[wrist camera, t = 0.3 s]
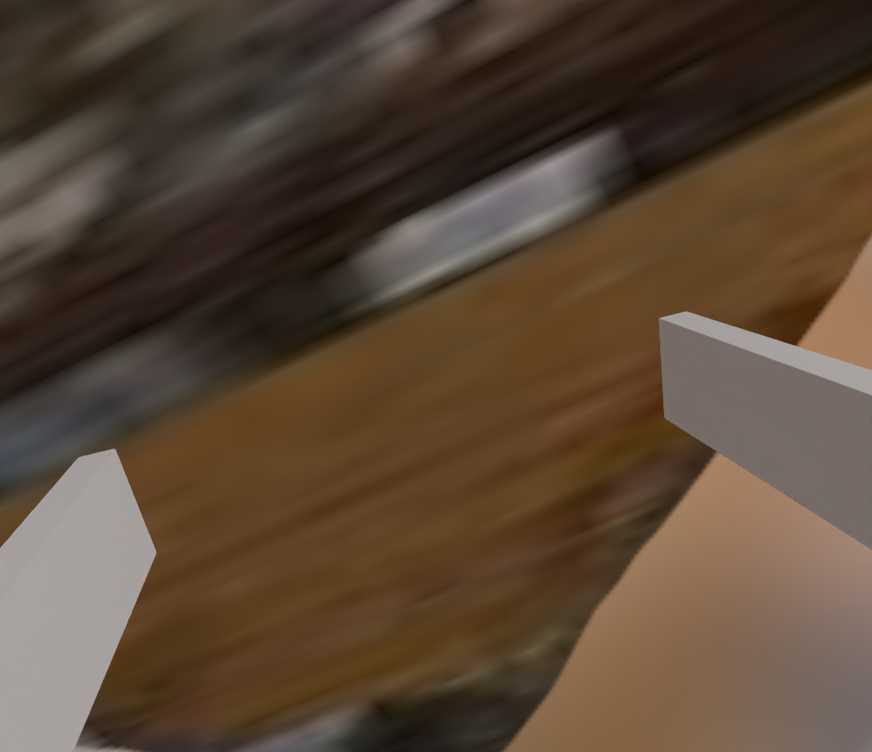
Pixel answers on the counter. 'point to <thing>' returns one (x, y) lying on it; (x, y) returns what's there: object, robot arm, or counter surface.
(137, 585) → the robot arm
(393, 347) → the counter surface
